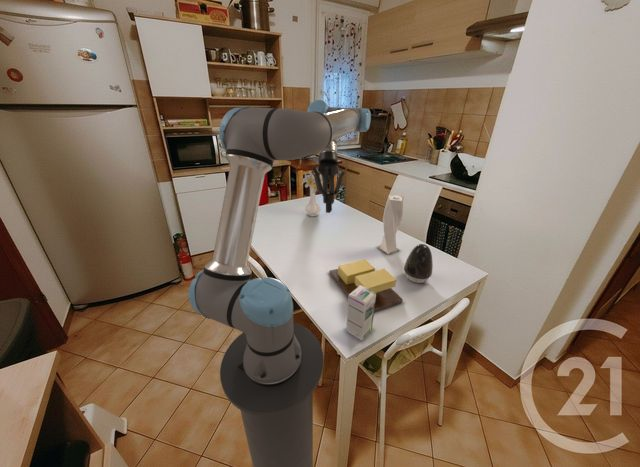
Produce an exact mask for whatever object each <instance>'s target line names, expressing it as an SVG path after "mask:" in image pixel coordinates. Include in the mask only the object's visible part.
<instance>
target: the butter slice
mask: <svg viewBox="0 0 640 467" xmlns="http://www.w3.org/2000/svg"><path fill="white" fill-rule="evenodd" d="M397 281H398V280H397V278H396V277H394V276H393V275H392V274H391V273H390V272H389V271H388V270H386V269H385V268H380V269H377V270H375V271H373V272H370V273H366V274H363V275H359V276H355V284H356V286H357V287H358V286H359V285H361V286H363V287H366V288H368V289H370V290H371V291H373V292H375V293H377V292H380V291H383V290H386V289H389V288H391V289H394V288H396V285H397Z"/></svg>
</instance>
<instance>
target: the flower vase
mask: <svg viewBox="0 0 640 467" xmlns="http://www.w3.org/2000/svg"><path fill="white" fill-rule="evenodd" d="M308 173H309V174H307V172H305V173H304V178H303V179H302V183H301V184H300V186H302V185H303V184H304V187H305V188H308V187H309V202H308V203H307V204H306V205H305V207H304V211H305V213H306V214H307V216H309V217H316V216H318V215H319V213H320V212H321V206H320V205H319V204H318V202H317V199H316V193H317V192H318V190H317V186H316V182H315V178H314V176H313V174H312V170H308ZM319 176H320V180H321V184H322V188H323V180H322V175H321V174H320V173H319Z"/></svg>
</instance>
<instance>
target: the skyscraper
mask: <svg viewBox="0 0 640 467" xmlns="http://www.w3.org/2000/svg"><path fill="white" fill-rule="evenodd" d="M404 198H405V195H404V193H402V194H401V196H400V195H397V194H394V195H391V194H389V195H388V198H387V202H386V206H385V209H384V215H383V237H382V240H381V243H380V245H378V246H377V249H378V250H380V251H381V252H383V253H384V254H387V255H391V254H393V253H394V254H395V253H397V252H399V251H400V249H399V248H397V232H398V230H399V228H400V226H401V223H402V220H403V214H404Z"/></svg>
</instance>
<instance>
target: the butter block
mask: <svg viewBox="0 0 640 467" xmlns="http://www.w3.org/2000/svg"><path fill="white" fill-rule="evenodd" d="M337 269H338V275H339V276H340V277H341V278H342V280H343V281H344V282H345V283H346V284H351V283H354V282H355V276H359V275H363V274H366V273H370V272H373V271H376V268H375V267H374V266H373V265H372V264H371V263H369V261H368V260H366V258H365V259H360V260H356V261H352V262H348V263H344V264H341V265H338V267H337Z"/></svg>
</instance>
